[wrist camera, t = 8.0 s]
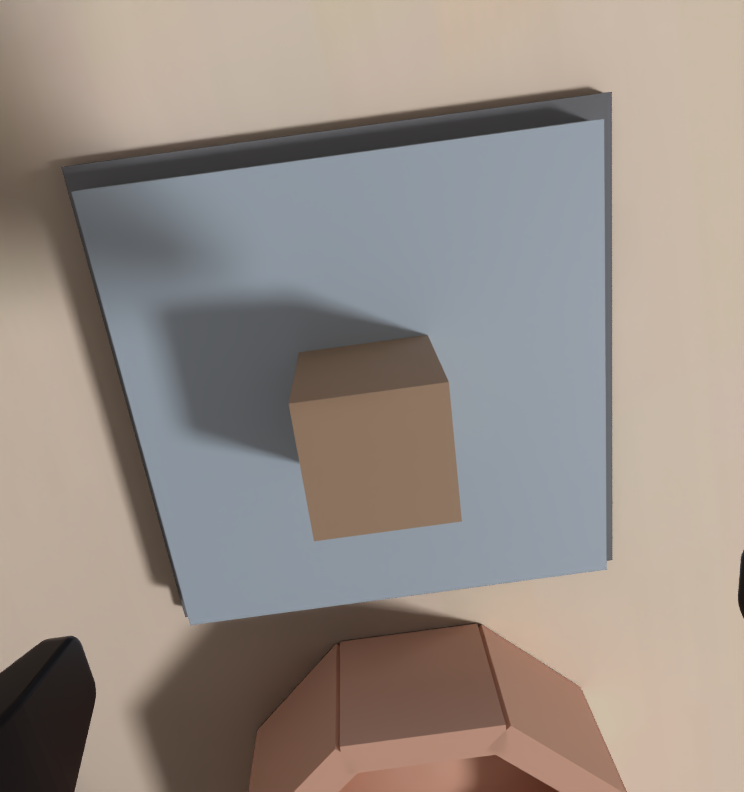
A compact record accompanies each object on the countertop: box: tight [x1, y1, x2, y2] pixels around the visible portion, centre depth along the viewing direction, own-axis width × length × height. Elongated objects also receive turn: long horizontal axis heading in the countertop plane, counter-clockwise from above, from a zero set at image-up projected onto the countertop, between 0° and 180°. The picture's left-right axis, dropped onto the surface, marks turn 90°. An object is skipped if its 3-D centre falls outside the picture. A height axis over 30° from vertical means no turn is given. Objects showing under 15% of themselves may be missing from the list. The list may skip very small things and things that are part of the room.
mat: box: [62, 92, 612, 617], centre depth 18 cm, size 13×13×1 cm
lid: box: [72, 119, 607, 625], centre depth 16 cm, size 12×12×4 cm
